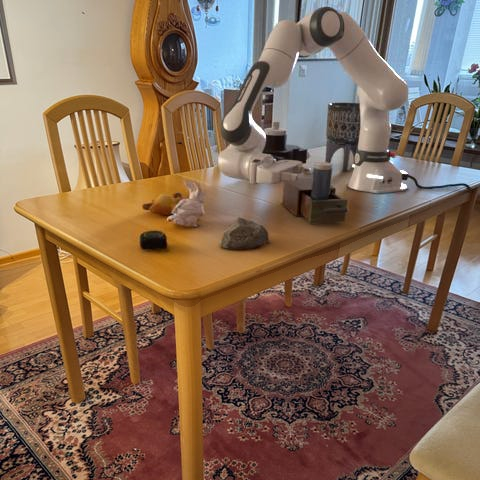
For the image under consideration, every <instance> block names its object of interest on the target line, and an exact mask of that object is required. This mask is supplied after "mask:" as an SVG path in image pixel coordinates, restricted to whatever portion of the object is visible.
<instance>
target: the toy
mask: <svg viewBox="0 0 480 480" xmlns="http://www.w3.org/2000/svg"><path fill="white" fill-rule="evenodd" d="M181 200H183V195H182V193H180V192H175V193H173V194H172V195H169V194H167V193H161V194H158V195H156V196H155V197H154V198H153V199H151V201H150V202H148V203H142V206H141V207H142V209H143V210H144V211H149V212H150V213H152V214H157V215H161V216H172V215H173V214H172V211H173V210H174V208H175V206H176V205H177V204H178V203H179V202H180V201H181Z"/></svg>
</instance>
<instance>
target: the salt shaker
mask: <svg viewBox="0 0 480 480" xmlns="http://www.w3.org/2000/svg"><path fill="white" fill-rule="evenodd" d="M333 170H334V169H333V163H332V162H331V163H327V162H325V161H317V162H315V163H314V166H313V169H312V177H311V178H312V187H311V197H310V198H312V199H313V200H329V195H330V187H331V186H332V177H333Z"/></svg>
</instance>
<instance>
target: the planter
mask: <svg viewBox="0 0 480 480" xmlns="http://www.w3.org/2000/svg"><path fill="white" fill-rule="evenodd" d="M360 125H361V121H360V102H330V103H328V104H327V115H326V131H325V138H326V146H325V160H324V162H327V163H331V164H332V159H333V157H334V154H335V153H336V152H337V151H338V150H340V149H342V150H343V159H342V172H348V170H349V169H348V167H349V161H350V154H351V153H352V157H353V165H355V155H356V149H357V148H358V142H359V135H360Z"/></svg>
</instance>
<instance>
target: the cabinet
mask: <svg viewBox="0 0 480 480" xmlns="http://www.w3.org/2000/svg"><path fill="white" fill-rule="evenodd" d="M311 187H312V177H311V178H310V177H308V178H298V179H297V180H295V181H293V180H283V186H282V188H283V189H282V205H283V206H284V208H286V209H287V210H288V211H290V213H291V214H292V215H294V216H295V217H296V218H299V217H304V216H303V215H302V214H301V213H300V212H299V205H300V193H301V192H311ZM330 191H331V192H333V193H334V194H336V191H337V188H336V187H335V186H332V185H331V187H330Z"/></svg>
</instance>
